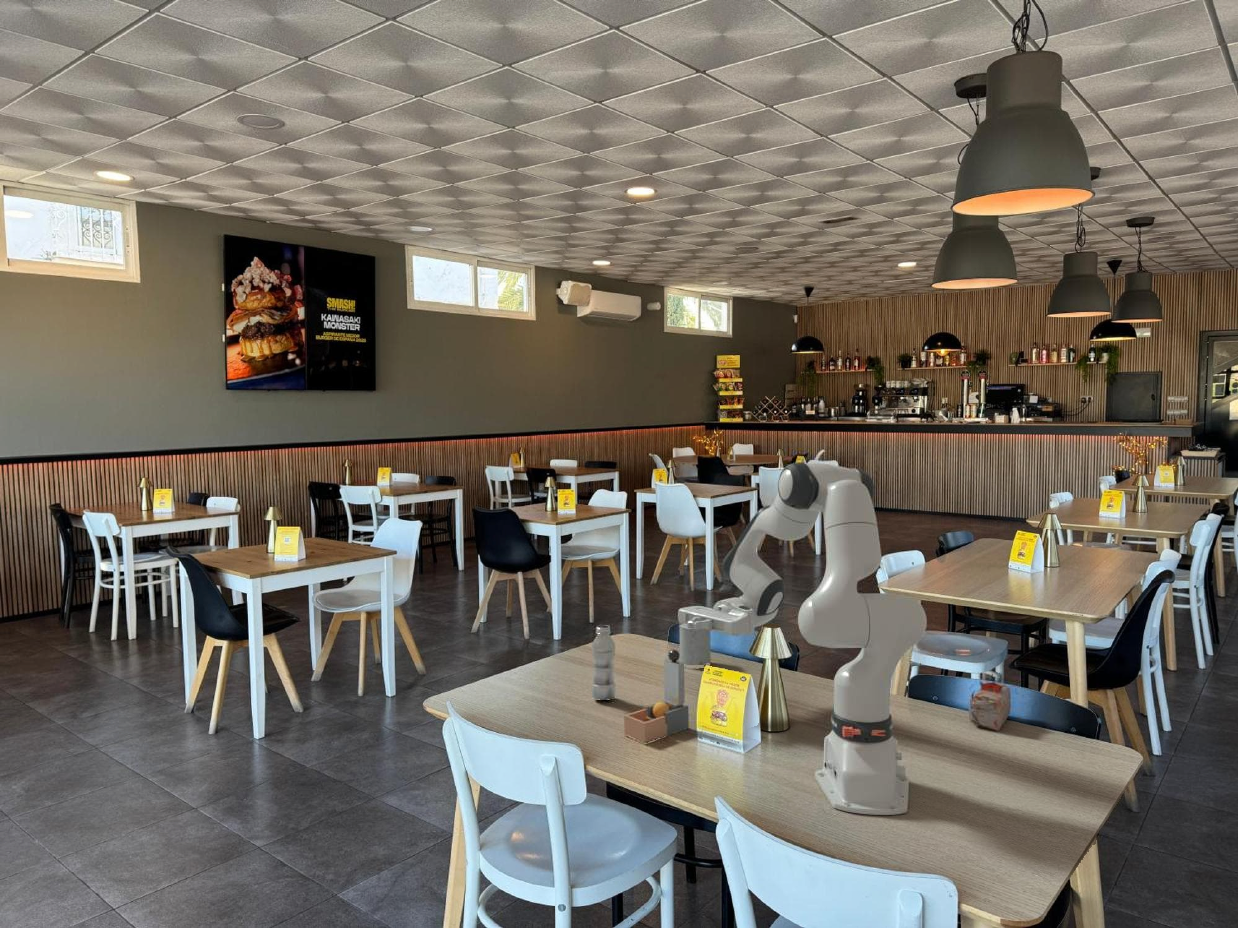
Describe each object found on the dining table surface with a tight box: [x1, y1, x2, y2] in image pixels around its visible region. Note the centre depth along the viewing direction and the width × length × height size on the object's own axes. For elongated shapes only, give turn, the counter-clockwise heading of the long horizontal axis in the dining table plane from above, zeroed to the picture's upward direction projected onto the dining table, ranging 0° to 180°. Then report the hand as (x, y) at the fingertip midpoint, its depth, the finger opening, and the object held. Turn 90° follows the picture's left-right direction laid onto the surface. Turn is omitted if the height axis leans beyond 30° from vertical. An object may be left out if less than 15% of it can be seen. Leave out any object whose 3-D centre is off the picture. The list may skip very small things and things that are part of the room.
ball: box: [653, 701, 669, 718], centre depth 200 cm, size 4×4×4 cm
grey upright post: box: [662, 649, 686, 711], centre depth 203 cm, size 3×5×16 cm
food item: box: [968, 681, 1012, 732], centre depth 203 cm, size 14×8×10 cm, turn 146°
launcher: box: [646, 703, 690, 736], centre depth 202 cm, size 8×7×6 cm
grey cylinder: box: [679, 623, 711, 667], centre depth 254 cm, size 10×10×12 cm
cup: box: [623, 708, 668, 744], centre depth 197 cm, size 7×7×5 cm
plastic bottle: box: [591, 624, 617, 700], centre depth 223 cm, size 6×7×20 cm
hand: (691, 625), depth 206 cm, fingers closed
